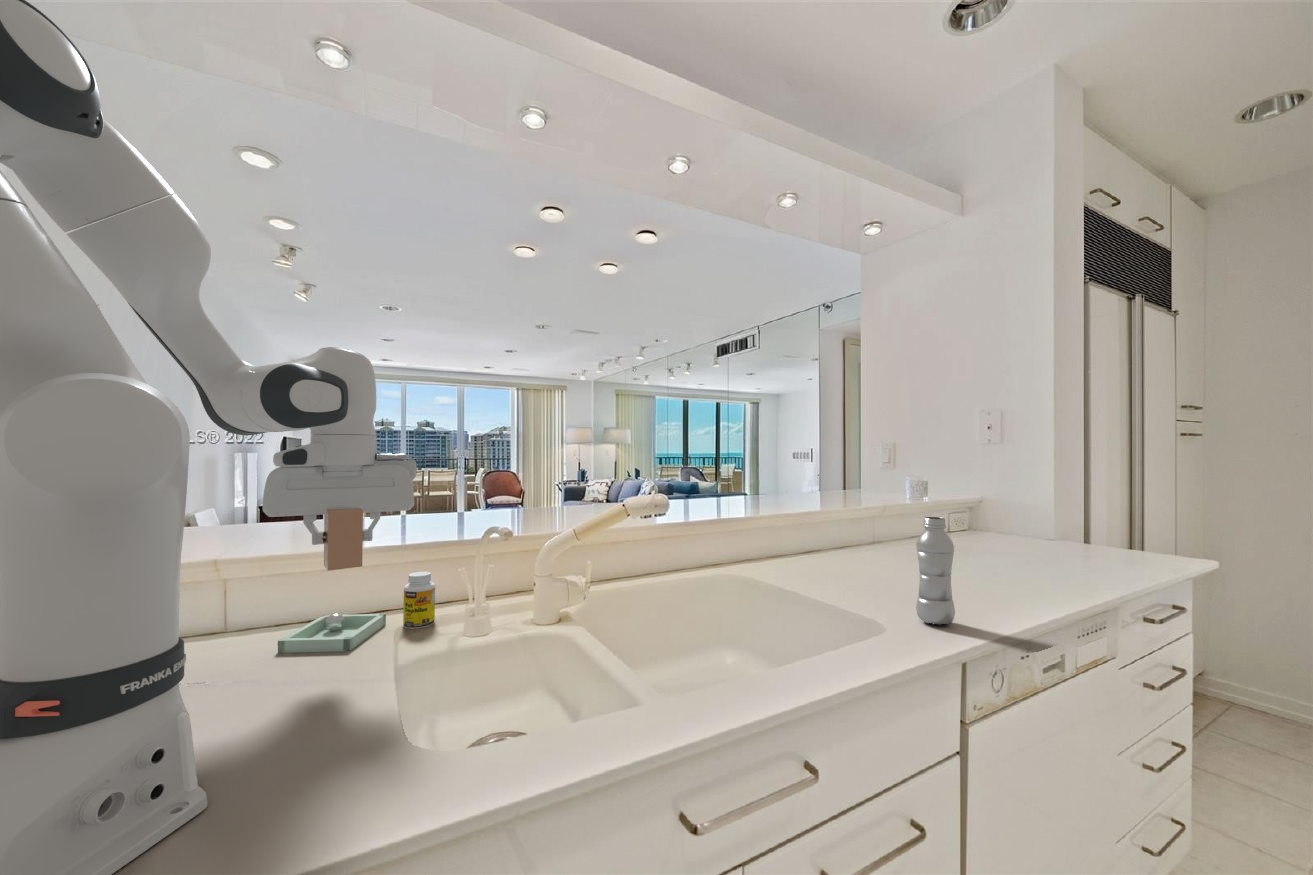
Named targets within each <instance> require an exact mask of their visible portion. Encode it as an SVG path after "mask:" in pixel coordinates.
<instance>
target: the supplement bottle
mask: <svg viewBox="0 0 1313 875" xmlns="http://www.w3.org/2000/svg"><path fill="white" fill-rule="evenodd" d="M402 610H403V616H402V619H403V620H402V623H403V624H402V626H403V627H404V628H405V629H421V628H426V627H429V626H431V625H434V624H435V619H436V616H435V614H436V613H435V612H436V584H435V582H433V581H432V573H431V572H430V571H415V572H412V573H409V574H408V583H406V584H405V585H404V587H403V609H402Z"/></svg>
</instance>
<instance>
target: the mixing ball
mask: <svg viewBox="0 0 1313 875" xmlns="http://www.w3.org/2000/svg"><path fill="white" fill-rule="evenodd" d="M329 615H330V616H328V617H327V619H326V621H325V627H326V628H327V629H328V630H329V631H337V630H339V629H340V628H342V626H343V625H344V622H345V619H344V617H343V616H342V615H343V614H341V613H337V612H335V613H331V614H329Z"/></svg>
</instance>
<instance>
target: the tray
mask: <svg viewBox="0 0 1313 875" xmlns="http://www.w3.org/2000/svg"><path fill="white" fill-rule="evenodd" d="M330 615H331V614H323V615H322V616H320V617H318V618H316V619H314V620H313V621H311V622H308V623H307V624H305V625H304V626H301V627H300V628H298V629H296V630H295V631H293V632H291V633H289V634H287V635H286V636H283V637H282V638H280V639H279V640H277V654H287V653H288V654H295V653H297V654H300V653H332V652H333V653H335V652H336V653H337V652H338V653H339V652H351V651H353V649H355V648H357V647H358V646H359V645H360V644H361V643H363V642H364V641H366V640H367V639H368V638H370V637H371V636H372V635H374V634H375V633H376V632H378V631H379V630H380V629H382V628H383V627H384V626H386V624H387V620H386V619H387V613H368V614H367V613H363V614H362V613H361V614H354V613H353V614H341V615H342V616H343V617H344V619H345V622H344V625H343V626H342V628H340V629H339V630H337V631H329V630H328V629H327V628H326V627H325V621H326V619H327V617H328V616H330Z"/></svg>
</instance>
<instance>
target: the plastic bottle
mask: <svg viewBox="0 0 1313 875" xmlns="http://www.w3.org/2000/svg"><path fill="white" fill-rule="evenodd" d="M923 528H924V530H923V532H922V533H921V534H920V535H919V537H918V538H917V541H916V544H915V546H916V553H917V561H918V569H919V570H918V572H919V582H918V583H919V585H918V596H917V600H916V606H915V608H916V615H917V617H918V619H919V620H920V619H921V620H922V621H921V620H920V621H921V622H923V621H924V623H927V624H929V623H934V624H948V625H950V624H949V623H951V624H952V623H953V622H954V620H955V617H956V616H955V615H956V610H955V608H956V607H955V603H954V600H953V592H952V570H953V569H952V566H953V560H954V552H955V545H954V542H953V540H952V539H951V537H950V536H949V535H948V534H947V533H946V531H945V529H946V528H947V525H946V518H945V517H939V516H924V517H923ZM934 624H933V625H934Z"/></svg>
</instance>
